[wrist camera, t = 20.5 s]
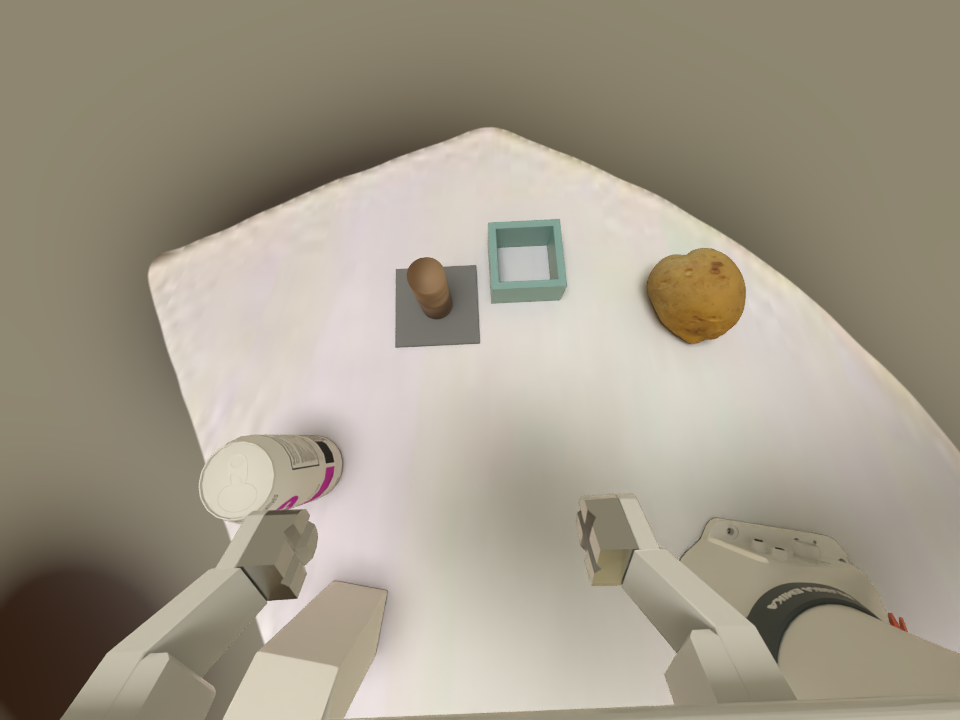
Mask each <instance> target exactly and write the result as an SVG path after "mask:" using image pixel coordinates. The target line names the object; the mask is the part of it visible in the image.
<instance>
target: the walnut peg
mask: <svg viewBox="0 0 960 720" xmlns="http://www.w3.org/2000/svg"><path fill="white" fill-rule="evenodd" d="M407 281H408V283H409V285H410V287H411V289H412V291H413V293H414V295H415V297H416V299H417V300H418V302H419V304H420V306H421V308H422V310H423V312H424V313H425V315H426V316H427V317H429V318H431V319H442V318H444V317H446V316H447V315H448V314H449V313H450V312H451V310H452V305H453V304H452V299H451V295H450V291H449V287H448V283H447V279H446V275H445V271H444V268H443V266H442V265H441V263H440V262H438V261H437V260H435V259H433V258H429V257H425V258H420V259H417V260H416V261H414V262H413V263H412V264H411V265H410V266H409V268H408V271H407Z"/></svg>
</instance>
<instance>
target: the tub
mask: <svg viewBox="0 0 960 720" xmlns="http://www.w3.org/2000/svg"><path fill="white" fill-rule="evenodd" d="M540 245H547V249H548V259H549V270H550V280H533V281H513V282H499V275H498V259H497V248H500V247H520V246H540ZM488 252H489V270H490V288H491V303H512V302H532V301H552V300H560V298H561V296H562V294H563V292H564V290H565V288H566V287H567V282H566V273H565V263H564V254H563V245H562V235H561V226H560V219H551V220H532V221H512V222H493V223H488Z"/></svg>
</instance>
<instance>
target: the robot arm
mask: <svg viewBox="0 0 960 720" xmlns="http://www.w3.org/2000/svg"><path fill="white" fill-rule="evenodd" d="M579 506H580V509H581V510H580V511H579V512H578V513H577V519H576V522H577V533H578V538H579V542H580V546H581V547H582V548H583V549H584V550H585V551H586V557H585V564H586V568H587V572H588V575H589V579H590V583H591V586H607V585H622V588H623V589H624V591H625V592H626V593H627V594H628V595H629V596H630V598H631V599H632V600H633V601H634V602H635V604H636V605H637V606H638V607H639V608H640V610H641V611H642V612H643V613H644V614H645V616H646V617H647V618H648V619H649V620H650V622H651V623H652V624H653V625H654V626H655V628H656V629H657V630H658V631H659V632H660V633H661V635H662V636H663V637H664V638H665V639H666V641H667V642H668V643H669V644H670V645H671V647H672V648H673V649H674V650H675V651H676V653H677V654H676V656H675V657H674V659H673V660H672V662H671V663H670V665H669V666H668V668H667V670H666V672H665V674H664V675H665V678H666V681H667V683H668V686H669V689H670V692H671V695H672V698H673V701H674V703H675V705H664V706H640V707H616V708H592V709H569V710H545V711H521V712H497V713H473V714H449V715H425V716H402V717H378V718H354V719H330V720H960V654H959V653H956V652H954V651H951V650H948V649H946V648H944V647H941V646H939V645H936V644H934V643H931V642H929V641H927V640H924V639H922V638H919V637H917V636H915V635H912V634H910V633H908V631H907V628H906V626H905V623H904V620H903V618H901V617H899V623H900V626H899V625H898V623H897V621H896V619H895V618H894V616H893V614H892V613H888V618H889V622H890V624H889V622H888V619H887V615H886V612H885V609H884V606H883V604H882V601H881V599H880V597H879V595H878V593H877V591H876V589H875V587H874V586H873V584H872V583H871V581H870V580H869V579H868V577H867V576H866V575H865V574H864V573H863V572H862V571H860V570H859V569H858V568H856V567H854V566H853V565H852V563H851V561H850V559H849V558H848V556H847V555H846V553H845V551H844V550H843V549H842V548H841V546H840V545H839V544H838V543H837V542H836V541H835V540H834V539H833V538H830V537H828V536H825V535H821V534H815V533H809V532H803V531H796V530H790V529H784V528H777V527H771V526H765V525H759V524H752V523H746V522H740V521H733V520H727V519H721V518H713V519H711V520H710V521H709V522H708V524H707V525H706V527H705V529H704V532H703V534H702V537H701V539H700V540H699V541H698V542H697V543H696V544H695V545H694V546H693V547H692V548H690V549H689V550H688V551H687V552H686V553H685V555H684V556H683V557H682V559H681V560H680V561H679V560H678V559H677V558H676V557H674V556H673V555H672V554H671V553H670V552H669V551H668V550H666V549H660V548H659V545H658V543H657V541H656V539H655V537H654V535H653V532H652V530H651V528H650V526H649V524H648V522H647V520H646V517H645V515H644V513H643V511H642V509H641V507H640V504H639V502H638V500H637V498H636V497H635V496H634V495H633V494H616V495H614V494H607V495H591V496H581V497H580V500H579ZM309 517H310V515H309V513H308V511H307V510H306V509H295V510H262V511H252V512H251V513H250V514H249V515H247V517H246V518H245V520H244V521H243V523H242V525H241V526H240V528H239V530H238V531H237V533H236V535H235V536H234V538H233V540H232V541H231V543H230V545H229V547H228V548H227V550H226V551H225V553H224V555H223V557H222V558H221V560H220V561H219V563H218V565H217V567H216V568H215V569H209V570H208V571H207V572H206V573H204V574H203V575H202V576H201V577H200V578H199V579H197V580H196V581H195V582H193V583H192V584H191V585H190V586H189V587H187V588H186V589H185V590H184V591H183V592H181V593H180V594H179V595H178V596H176V597H175V598H174V599H173V600H171V602H169V603H168V604H167V605H165V606H164V607H163V608H162V609H161V610H159V611H158V612H157V613H156V614H155V615H153V616H152V617H151V618H150V619H148V620H147V621H146V622H145V623H143V624H142V625H141V626H140V627H139V628H137V629H136V630H135V631H134V632H132V633H131V634H130V635H129V636H128V637H126V638H125V639H124V640H123V641H121V643H119V644H118V645H117V646H115V647H114V648H113V649H112V650H111V651H109V652H108V653H107V654H106V656H105V657H104V659H103V660H102V661H101V663H100V664H99V666H98V667H97V669H96V670H95V671H94V673H93V674H92V676H91V677H90V678H89V680H88V682H87V683H86V684H85V685H84V687H83V688H82V690H81V691H80V692H79V694H78V695H77V697H76V698H75V700H74V701H73V702H72V704H71V705H70V707H69V708H68V710H67V711H66V712H65V714H64V715H63V717H62V718H61V719H60V720H204V719H205V717H206V715H207V713H208V710H209V708H210V706H211V704H212V701H213V699H214V697H215V695H216V692H215V688H214V687H213V686H212V685H210V684H209V683H208V682H206V681H205V680H204V679H202V677H203V676H204V675H205V673H207V671H208V670H209V669H210V668H211V667H212V665H213V664H214V663H215V662H216V661H217V660H218V659H219V658H220V656H221V655H222V654H223V653H224V652H225V651H226V649H227V648H228V647H229V646H230V645H231V644H232V643H233V641H234V640H235V639H236V638H237V637H238V636H239V634H241V632H242V631H243V630H244V629H245V628H246V627H247V626H248V624H249V623H250V622H251V621H252V620H253V619H254V618H255V616H256V615H257V614H258V613H259V612H260V611H261V610H262V608H263V607H264V606H265V605H266V604H267V601H272V600H286V599H297V598H298V596H299V593H300V591H301V588H302V585H303V583H304V580H305V577H306V575H307V572H306V569H305V565H306V564H307V563H308V562H309V561H310V560H311V559H312V558H313V556H314V553H315V550H316V548H317V541H318V533H317V529H316V526H315V525H314V524H313V523H311V522H309V521H308V520H309ZM728 528H730V533H729V534H728V533H727V529H728ZM839 559H840V561H839Z"/></svg>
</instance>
